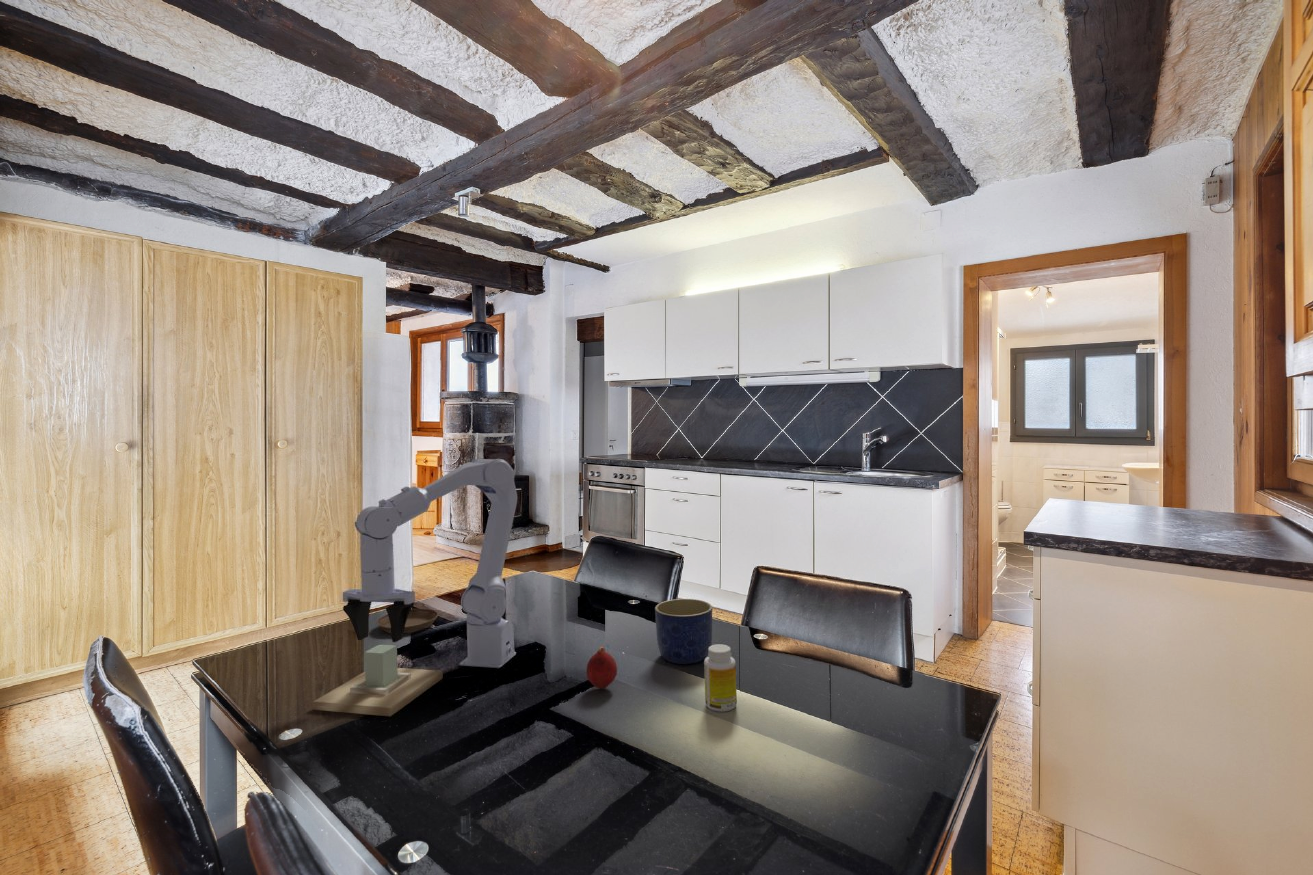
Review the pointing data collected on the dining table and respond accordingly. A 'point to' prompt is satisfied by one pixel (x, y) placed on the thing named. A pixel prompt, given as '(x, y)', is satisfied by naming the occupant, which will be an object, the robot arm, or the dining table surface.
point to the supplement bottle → (720, 679)
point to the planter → (684, 630)
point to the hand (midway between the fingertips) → (380, 639)
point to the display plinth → (378, 693)
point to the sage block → (381, 666)
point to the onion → (601, 669)
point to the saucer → (411, 620)
